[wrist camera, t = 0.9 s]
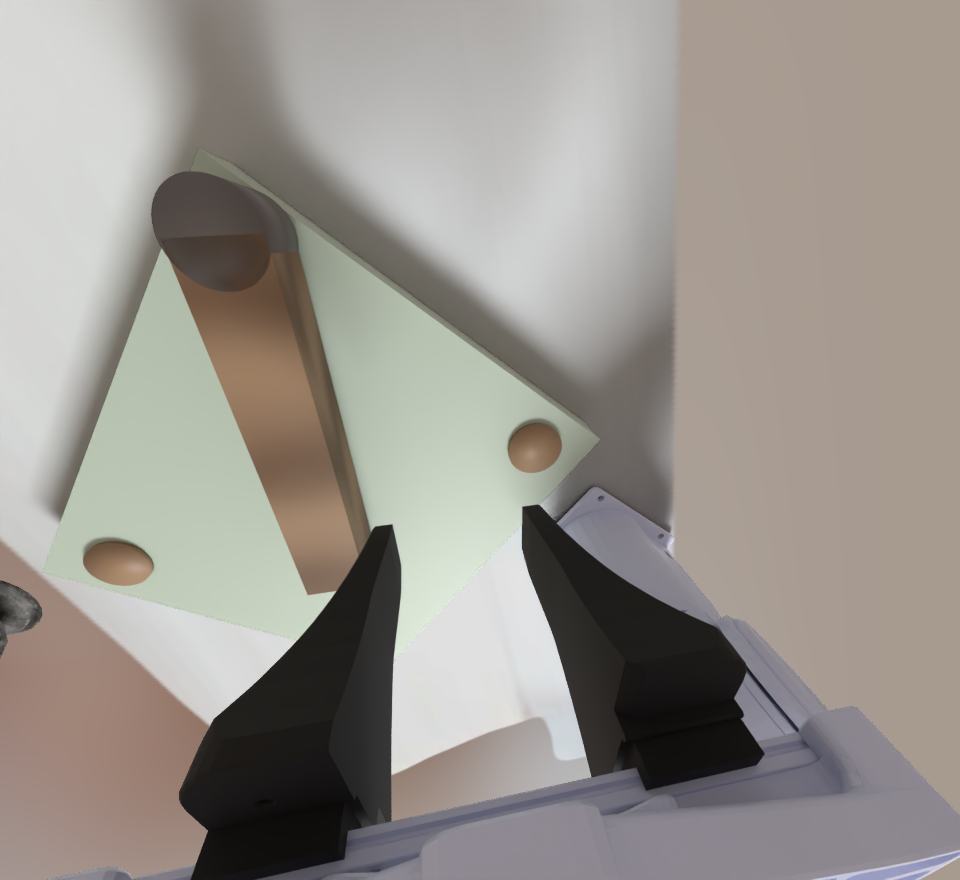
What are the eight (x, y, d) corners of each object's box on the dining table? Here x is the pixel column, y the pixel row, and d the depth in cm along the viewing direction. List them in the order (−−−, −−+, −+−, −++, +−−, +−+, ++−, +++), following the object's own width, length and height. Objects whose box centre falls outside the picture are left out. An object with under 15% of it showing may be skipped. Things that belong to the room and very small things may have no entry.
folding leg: (189, 188, 13) (129, 173, 10) (284, 185, 13) (250, 169, 10) (319, 552, 21) (305, 595, 18) (375, 544, 21) (369, 585, 19)
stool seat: (583, 421, 23) (603, 442, 20) (392, 634, 30) (389, 669, 27) (231, 163, 15) (193, 146, 12) (80, 539, 21) (36, 577, 19)
